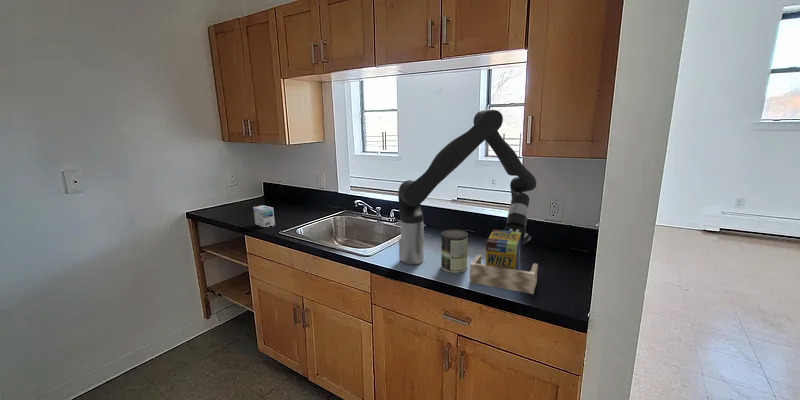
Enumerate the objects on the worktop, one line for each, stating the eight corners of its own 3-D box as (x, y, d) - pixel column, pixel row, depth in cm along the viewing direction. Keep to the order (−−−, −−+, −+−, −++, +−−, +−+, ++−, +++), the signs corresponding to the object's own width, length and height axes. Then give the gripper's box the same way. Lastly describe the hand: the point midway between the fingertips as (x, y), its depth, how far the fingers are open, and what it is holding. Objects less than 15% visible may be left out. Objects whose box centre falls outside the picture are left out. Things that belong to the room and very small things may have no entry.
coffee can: (437, 270, 141) (437, 235, 138) (445, 261, 150) (446, 228, 147) (463, 274, 137) (464, 238, 134) (470, 264, 146) (471, 231, 143)
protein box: (484, 282, 130) (485, 241, 127) (491, 266, 144) (493, 228, 141) (515, 287, 126) (517, 244, 123) (519, 270, 140) (521, 231, 136)
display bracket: (469, 282, 131) (470, 264, 129) (476, 272, 139) (477, 255, 137) (533, 294, 121) (534, 274, 120) (536, 282, 129) (537, 263, 128)
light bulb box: (275, 225, 206) (273, 207, 204) (264, 228, 201) (262, 209, 199) (265, 222, 213) (263, 204, 210) (254, 225, 208) (252, 207, 205)
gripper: (499, 210, 148) (492, 249, 140) (534, 213, 143) (528, 253, 135) (501, 219, 154) (494, 257, 146) (535, 223, 149) (529, 262, 141)
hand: (510, 255), depth 141 cm, fingers closed
